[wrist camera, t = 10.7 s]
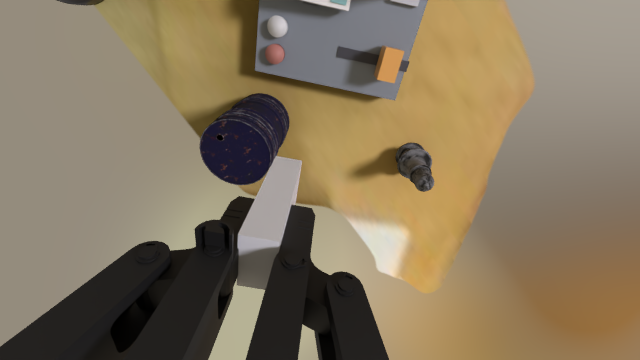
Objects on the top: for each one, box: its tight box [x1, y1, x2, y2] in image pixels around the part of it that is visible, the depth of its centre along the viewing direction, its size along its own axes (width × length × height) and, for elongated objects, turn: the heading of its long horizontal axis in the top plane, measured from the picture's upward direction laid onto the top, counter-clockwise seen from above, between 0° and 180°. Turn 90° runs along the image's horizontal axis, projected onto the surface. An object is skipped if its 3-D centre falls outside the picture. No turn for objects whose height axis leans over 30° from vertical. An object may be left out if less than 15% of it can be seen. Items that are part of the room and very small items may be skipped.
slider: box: [374, 45, 404, 83], centre depth 37 cm, size 2×4×4 cm, turn 169°
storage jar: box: [200, 93, 289, 185], centre depth 43 cm, size 10×10×15 cm
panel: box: [255, 0, 428, 100], centre depth 38 cm, size 22×18×6 cm
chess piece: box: [396, 143, 434, 192], centre depth 45 cm, size 6×6×12 cm
